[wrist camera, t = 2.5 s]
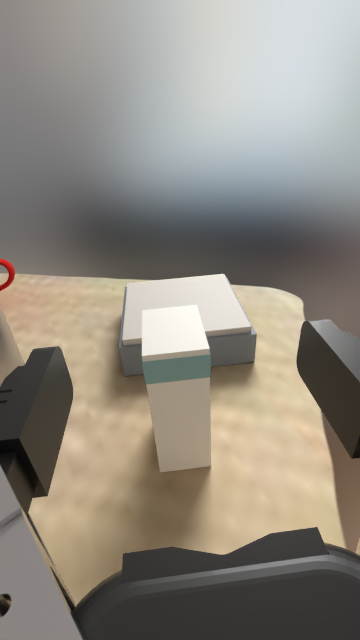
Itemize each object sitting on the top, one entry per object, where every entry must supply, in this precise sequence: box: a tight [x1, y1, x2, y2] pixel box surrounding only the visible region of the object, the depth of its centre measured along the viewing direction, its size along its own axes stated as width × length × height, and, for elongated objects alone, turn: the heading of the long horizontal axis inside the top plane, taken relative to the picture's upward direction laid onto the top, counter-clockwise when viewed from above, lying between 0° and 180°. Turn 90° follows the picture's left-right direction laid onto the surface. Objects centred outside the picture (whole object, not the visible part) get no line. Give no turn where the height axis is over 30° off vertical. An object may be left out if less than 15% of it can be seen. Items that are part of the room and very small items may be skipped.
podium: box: [119, 274, 257, 376], centre depth 45 cm, size 16×16×5 cm
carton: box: [142, 305, 211, 473], centre depth 27 cm, size 5×6×13 cm
